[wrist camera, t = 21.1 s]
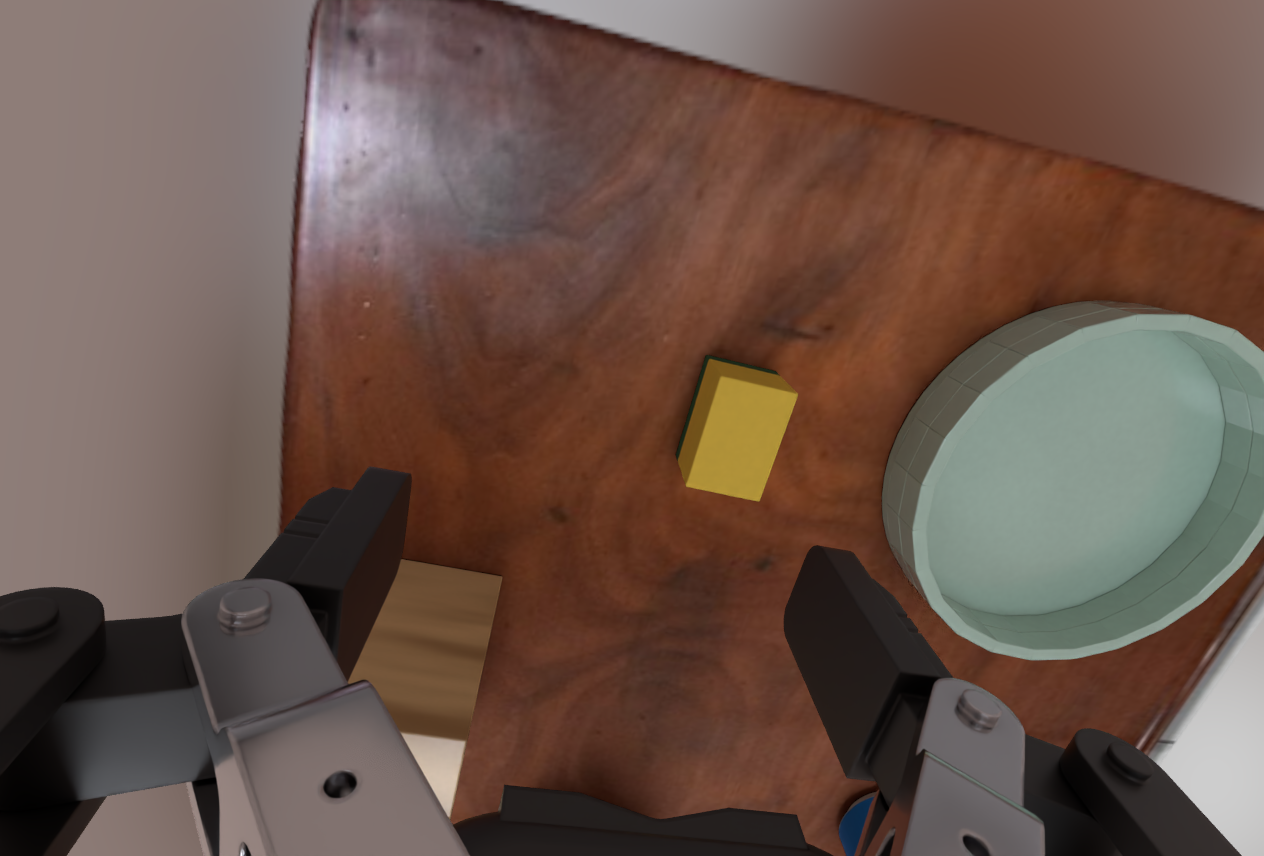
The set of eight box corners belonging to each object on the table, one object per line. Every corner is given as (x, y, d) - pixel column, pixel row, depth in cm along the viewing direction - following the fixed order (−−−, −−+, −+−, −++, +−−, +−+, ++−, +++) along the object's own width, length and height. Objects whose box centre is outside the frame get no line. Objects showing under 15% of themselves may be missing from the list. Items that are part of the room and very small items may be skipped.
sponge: (705, 354, 34) (720, 375, 30) (776, 371, 34) (799, 393, 30) (675, 455, 36) (685, 487, 32) (742, 469, 36) (759, 502, 32)
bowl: (915, 297, 33) (957, 312, 29) (1279, 302, 35) (1362, 316, 31) (857, 621, 41) (884, 665, 37) (1158, 613, 42) (1214, 655, 38)
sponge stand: (382, 554, 37) (292, 717, 25) (503, 575, 38) (467, 741, 26) (365, 676, 40) (278, 869, 28) (478, 692, 41) (436, 885, 29)
